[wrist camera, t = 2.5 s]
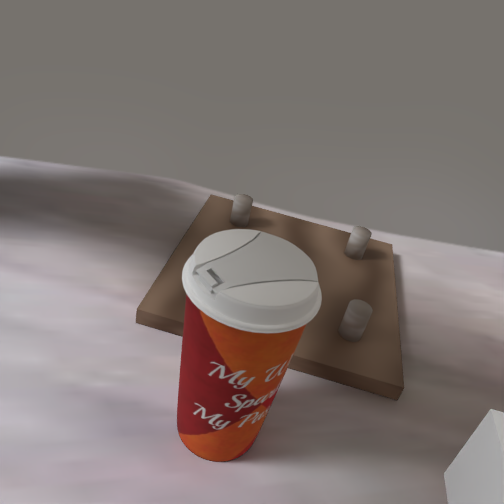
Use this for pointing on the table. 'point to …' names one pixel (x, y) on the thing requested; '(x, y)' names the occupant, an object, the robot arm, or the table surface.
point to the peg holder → (332, 290)
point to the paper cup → (239, 336)
